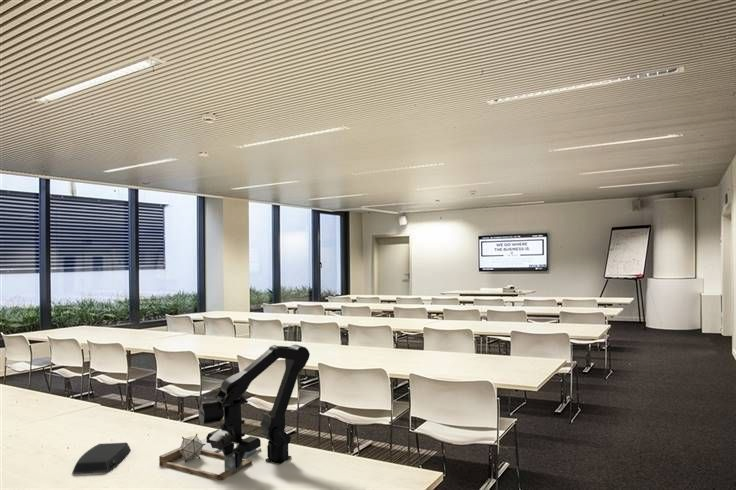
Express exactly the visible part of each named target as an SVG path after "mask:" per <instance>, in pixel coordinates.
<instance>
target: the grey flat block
mask: <svg viewBox="0 0 736 490" xmlns="http://www.w3.org/2000/svg"><path fill="white" fill-rule="evenodd" d="M250 436H251V435H248V436H246V437H245V438H243V439H246V438H248V437H250ZM199 440H200V441H201V442H202V444H206V445H203V447H202V450H207V451H211V452H216V453H219V452H220V454H223V452H222V450H219V449H216V448H212V446H211V444H210V443H207V438H205V437H204V438H203V439H199ZM236 446H237V444H235V445H234V448H236ZM261 451H262V448H261V447H258V448H256V449H254V450H252V451H250V452H246V453H245V455H244V457H243V459H247V458H249V457H251V456H253V455H256V454H257V453H259V452H261Z"/></svg>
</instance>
